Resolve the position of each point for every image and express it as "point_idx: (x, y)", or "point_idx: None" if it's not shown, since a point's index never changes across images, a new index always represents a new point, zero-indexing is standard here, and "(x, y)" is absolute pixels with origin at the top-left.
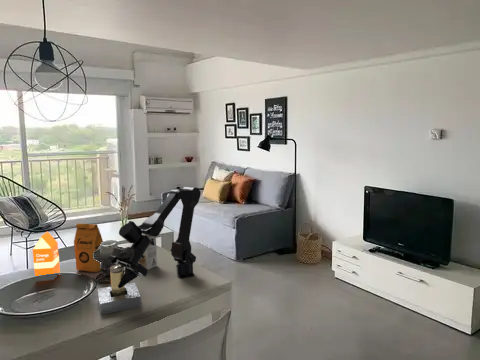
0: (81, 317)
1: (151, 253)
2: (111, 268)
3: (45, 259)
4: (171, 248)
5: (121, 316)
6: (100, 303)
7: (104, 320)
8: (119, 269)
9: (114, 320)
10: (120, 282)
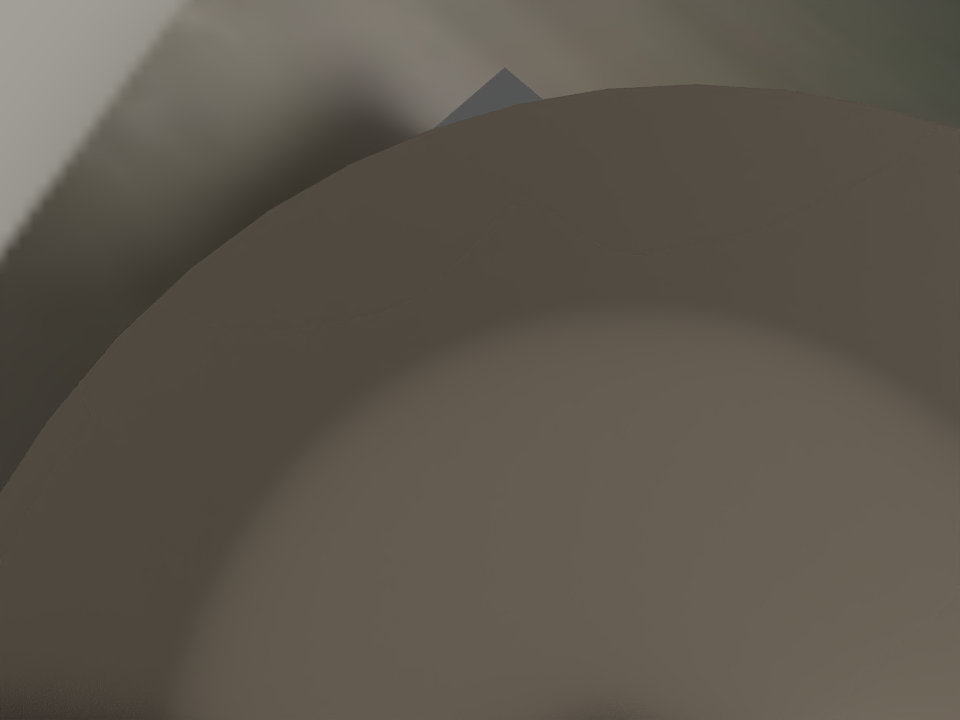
0: (709, 40)
1: None
2: (931, 177)
3: None
4: None
5: (121, 248)
6: (505, 83)
7: (310, 75)
8: (84, 456)
9: (157, 119)
10: None
